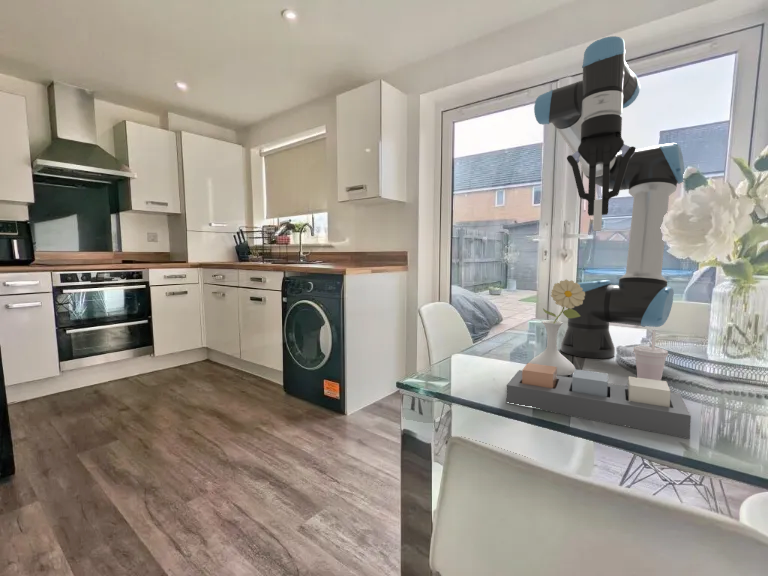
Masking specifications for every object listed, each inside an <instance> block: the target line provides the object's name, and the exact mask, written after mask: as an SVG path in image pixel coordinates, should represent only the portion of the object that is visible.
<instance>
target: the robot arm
mask: <svg viewBox="0 0 768 576" xmlns="http://www.w3.org/2000/svg"><path fill="white" fill-rule="evenodd" d="M626 51H627V50H626V49H625V40H624V38H622V37H620V36H616V35H615V36H613V35H612V36H605V37H602V38H600V39H597V40H595V41H593V42H592V43H590V44H589V45H588V46H587V47H586V49H585V50H584V53H583V60H582V61H583V62H582V65H581V66H582V67H581V68H582V79H581V80H579V81H576V82H574V83H571V84H567V85H564V86H561V87H557V88H555V89H551V90H549V91H547V92H544V93H542V94H540V95H538V96H537V97H536V99H535V102H534V107H533V110H534V117H535V120H536V121H537V123H538V124H539V125H550V124H552V126H554V127H555V129H556V130H557V132H558V133H559V135H560V136H561V137H562V138H563V140H564V141H565V143H566V144H567V145H568V147H569V148H570V150H571V151H572V152H573V154H570V155H568V156H567V157H566V160H567V163H568V164H569V165H570V166H571V168H572V172H573V176H574V181H575V185H576V188H577V193H578V197H579V199H581V200H585V201H587V214H588V216H589V217H593V219H592V222H593V223H592V225H593V226H592V227H593V228H592V231H593V232H601V231H602V229H603V228H602V222H603V216H606V215H608V213H609V202H610V199H612V198H615V197H618V196H619V194H620V191H624V190H628V194H629V195H630V196H632V198H633V203H632V212H631V221H630V233H629V241H628V249H627V258H626V268H625V273H624V274H623V275H621V276H620V277H619V279H618V284H612V281H611V280H610V279H603V280H593V281H591V280H589V281H583V282H577V283H578V284H579V285H580V287H581V288H582V289H583V290H582V291H584V292H585V296H584V298H585V299H584V300H582V301H583V304H582V305H579V306H574V308H572V309H573V310H575V311H576V312H577V313H579V315H580V317H576V318H567V329H566V330H565V333H564V336H563V338H562V341H561V344H560V350H561V351H560V352H562V353H564V354H567V355H571V356H574V357H575V356H576V357H581V358H588V359H610V358H613V357H615V353H616V352H615V351H616V348H615V345H614V342H613V339H612V336H611V333H610V323H611V324H619V325H620V324H621V325H630V326H638V327H653V328H658V327H661V326H663V325H665V324H666V322H667V320H668V318H669V317H670V313H671V310H672V307H673V303H674V292H675V291H674V289H673V288H672V287H671V286H669V285H668V280H667V279H666V278H665V277H664V276H663V275H662V272H663V271H662V269H663V260H664V253H665V244H666V243H665V242H666V241H665V242H664V241H663V240H662V233H661V229H660V227H661V224H662V221H663V217H664V215H665V214H666V213H667V214H668V212H667V211H668V210H669V200H670V196H671V195H672V194H674V193H675V192H676V191H677V186H678V185H677V184H681V183H684V181H683V174H684V172H685V173H686V171H685V163H684V157H683V153H682V148H681V147H680V145H679V144H678V143H676V142H671V143H664V144H661V143H660V144H658V145H652V146H648V147H644V148H643V147H642V148H638V149H637V148H636V146H629V145H627V144H625V143H624V142H625V141H624V140H623V138H622V130H623V129H622V127H623V117H622V116H621V115H622V114H623V109H625V108H628V107H629V106H630V105H632V104H633V103H634V102H635V101H636V100H637V98H638V96H639V94H640V91H641V84H640V81H639V78H638V76H637V74H636V73H635V72H634V71H632V70H631V69H630V68H629V65H628V64H627V62H626V60H625V57H626V56H625V55H626V53H627V52H626ZM620 151H621V152H620ZM579 163H580V164H581V168H580V167H579ZM580 169H581V170H580ZM581 171H582V173H583V175H584V176H585V177H586V178H587V179H588V190H587V191H588V192H586V190H585V186H584V182H583V178H582V175H581V174H582V173H581ZM596 185H597V186H599V187H601V188H602V190H601V192H602V193H601V199H596ZM567 309H570V308H567Z"/></svg>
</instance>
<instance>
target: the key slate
mask: <svg viewBox="0 0 768 576" xmlns="http://www.w3.org/2000/svg"><path fill="white" fill-rule="evenodd" d="M571 378H572V392H578V393H584V394H590V395H596V396H602V397H607V386H608V383H609V382H608V381H609V380H608V379H609V373H605V372H598V371H591V370H590V371H589V370H584V369H578V368H577V369H576V368H575V371H574V373H573V374H572V377H571Z"/></svg>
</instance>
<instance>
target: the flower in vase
mask: <svg viewBox="0 0 768 576" xmlns="http://www.w3.org/2000/svg"><path fill="white" fill-rule="evenodd" d="M578 283H579V282H575V281H574V280H568V279H564V280H560V281H559V282H555V283H554V285H553V286H552V289H551V295H550V296H551V298H552V300H553V301H554V303H555V304H556V305H558V306H561V308H562V310H561V311H560V313H559V314H558V315H556V314H555V313H554V312H551V311H548V310H546V309H545V308H542V310H543V312H544V313H545V314H547V315H550V316H552V317H553V318H555V319H554V320H542V321H541V322H542V324H543V325H544V328H545V330H546V336H547V337H546V338H547V342H546V348H545V350H543V351H542V352H540V354H538V355H536V356H535V357H533V358H532V359H530V361H529V362H528V363H532V364H539V365H547V366H554V367H557V376H563V377H568V376H570V375H573V374H574V371H575V369H576V367H575V365H574V364H573V363H572V362H571V361H570V360H569V359H567V358H566V357H565V356H564V355H563V354H561V351H559V350H558V346H557V345H558V344H557V343H558V342H557V341H558V340H557V339H558V333H559V330H560V328H561V326H562V325H563V323H564V322H563V321H560V320H558V319H559V318H560V316H561V315H562V313H563V315H564V316H565V317H566V318H567V319H568V318H576V317H580V315H579V313H577V312H576V311H575V310H573V309H572V308H574V306H579V305H582V304H583V301H582V300H584V299H585V298H584V296H585V292H584V291H582V290H583V289H582V288H581V287H580V285H579V284H578ZM565 308H566V309H565ZM568 308H570V309H568Z"/></svg>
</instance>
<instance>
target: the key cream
mask: <svg viewBox="0 0 768 576" xmlns="http://www.w3.org/2000/svg"><path fill="white" fill-rule="evenodd" d="M627 382H628V383H627V386H628V400H627V401H633V402H639V403H646V404H652V405H658V406H664V407H670V392H671V389H670V387H669V384H668V381H666V380H661V381H660V380H652V379H645V378H638V377H635V376H628V381H627Z"/></svg>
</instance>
